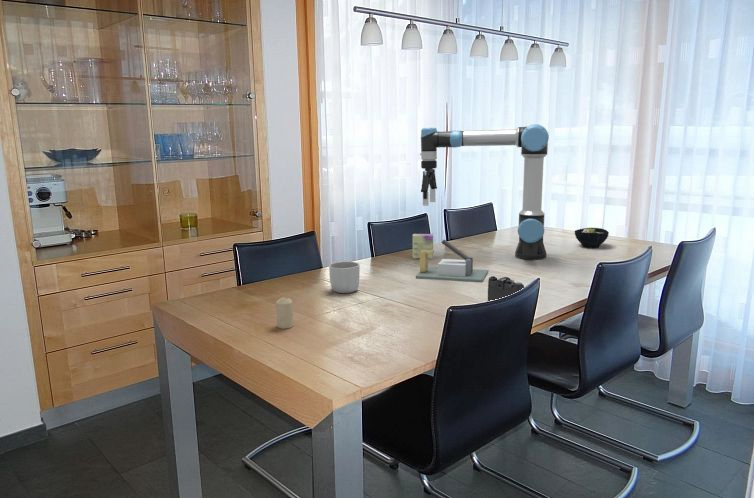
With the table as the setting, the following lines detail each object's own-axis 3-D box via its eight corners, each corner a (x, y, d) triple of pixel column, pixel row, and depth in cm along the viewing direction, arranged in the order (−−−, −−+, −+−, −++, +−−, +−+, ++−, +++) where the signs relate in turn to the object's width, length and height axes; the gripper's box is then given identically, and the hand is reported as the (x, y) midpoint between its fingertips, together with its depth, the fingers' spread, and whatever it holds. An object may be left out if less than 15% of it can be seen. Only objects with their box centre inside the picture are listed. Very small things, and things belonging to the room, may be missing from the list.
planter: (337, 296, 232) (336, 269, 229) (325, 289, 242) (324, 263, 240) (365, 292, 237) (364, 265, 235) (352, 285, 248) (351, 260, 246)
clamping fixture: (488, 272, 264) (488, 254, 263) (482, 282, 247) (482, 263, 246) (425, 268, 273) (425, 251, 272) (415, 278, 257) (415, 260, 255)
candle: (278, 323, 201) (276, 295, 199) (294, 323, 201) (292, 295, 199) (276, 329, 196) (274, 300, 194) (293, 328, 196) (291, 299, 194)
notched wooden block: (434, 270, 265) (434, 250, 263) (431, 272, 261) (431, 252, 259) (422, 269, 267) (422, 249, 265) (420, 272, 262) (419, 252, 260)
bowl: (610, 245, 316) (611, 226, 314) (604, 251, 301) (605, 232, 299) (578, 242, 325) (579, 224, 323) (570, 248, 310) (571, 229, 308)
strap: (470, 262, 258) (472, 259, 258) (469, 263, 255) (471, 261, 255) (442, 241, 260) (444, 239, 260) (441, 242, 257) (442, 240, 257)
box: (433, 256, 299) (433, 233, 297) (433, 258, 294) (433, 235, 291) (412, 256, 300) (412, 233, 298) (412, 258, 295) (412, 235, 292)
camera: (533, 302, 218) (534, 276, 216) (518, 309, 210) (519, 282, 208) (500, 296, 228) (500, 271, 226) (484, 302, 220) (485, 276, 218)
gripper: (427, 158, 296) (428, 200, 300) (414, 161, 273) (414, 207, 277) (442, 158, 293) (442, 200, 297) (430, 161, 270) (430, 207, 274)
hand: (429, 203), depth 287 cm, fingers open, 13 cm apart
